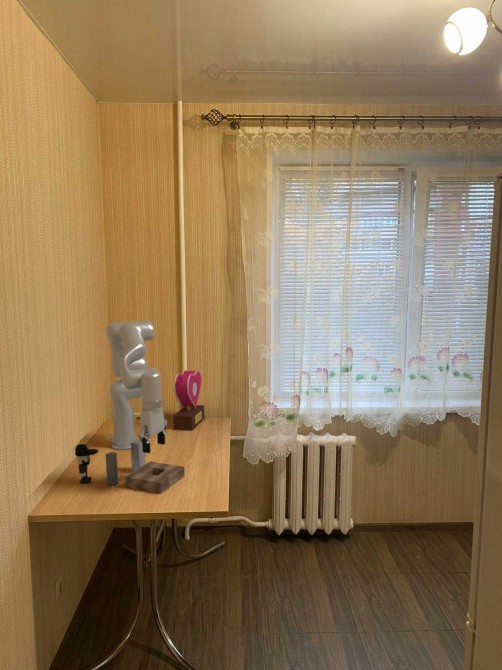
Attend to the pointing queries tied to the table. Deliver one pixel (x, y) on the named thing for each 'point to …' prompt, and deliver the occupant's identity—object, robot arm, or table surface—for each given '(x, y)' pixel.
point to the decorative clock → (188, 401)
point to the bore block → (154, 477)
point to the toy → (84, 461)
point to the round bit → (112, 469)
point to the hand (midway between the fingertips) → (154, 448)
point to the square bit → (137, 455)
